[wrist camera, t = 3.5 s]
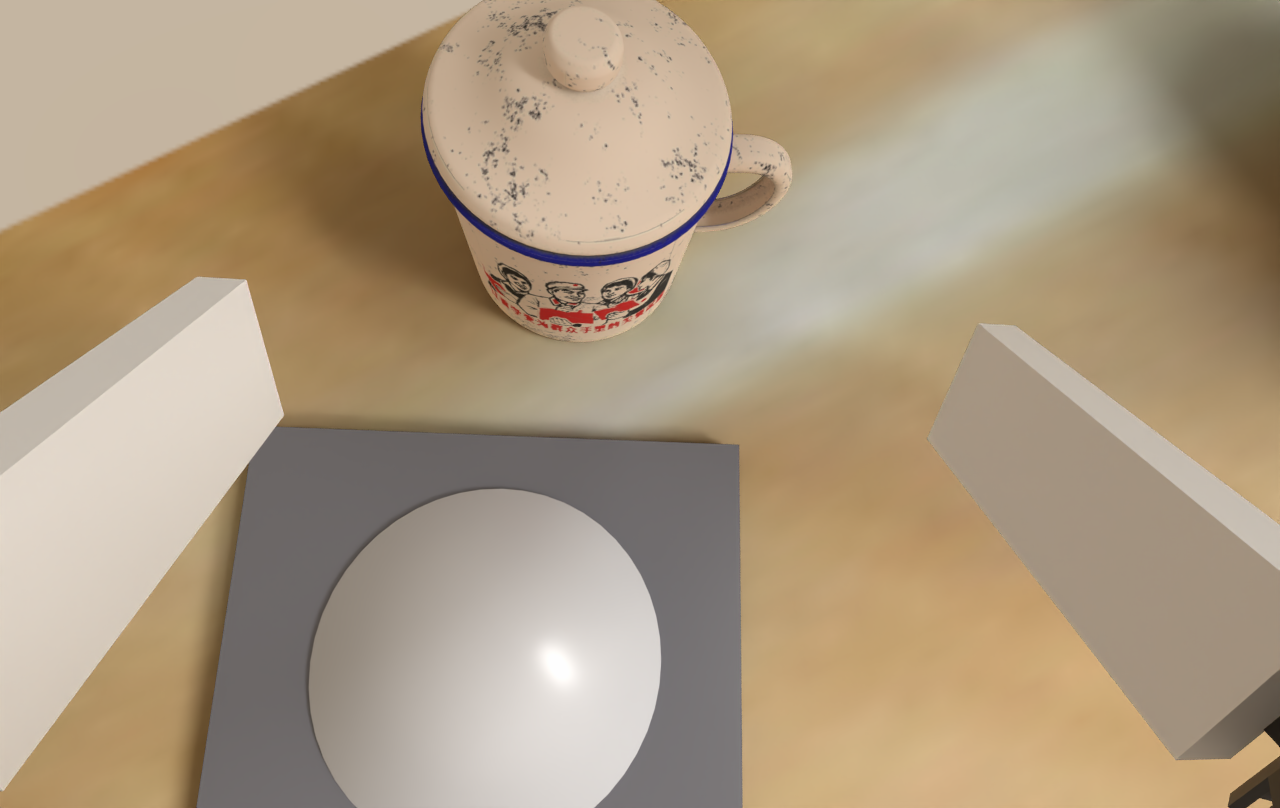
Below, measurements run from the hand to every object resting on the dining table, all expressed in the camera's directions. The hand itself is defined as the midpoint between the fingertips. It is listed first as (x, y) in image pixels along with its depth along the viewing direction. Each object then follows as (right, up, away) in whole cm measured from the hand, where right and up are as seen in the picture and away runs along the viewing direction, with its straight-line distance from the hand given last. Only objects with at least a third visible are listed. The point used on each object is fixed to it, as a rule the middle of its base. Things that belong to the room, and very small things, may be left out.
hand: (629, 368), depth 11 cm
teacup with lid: (-1, +6, +15) cm, 16 cm away
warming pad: (-5, -14, +10) cm, 18 cm away
